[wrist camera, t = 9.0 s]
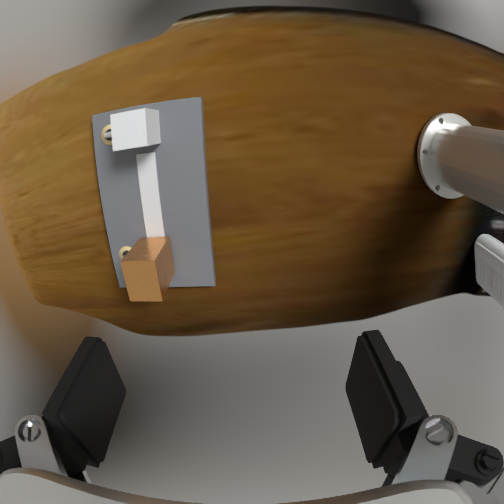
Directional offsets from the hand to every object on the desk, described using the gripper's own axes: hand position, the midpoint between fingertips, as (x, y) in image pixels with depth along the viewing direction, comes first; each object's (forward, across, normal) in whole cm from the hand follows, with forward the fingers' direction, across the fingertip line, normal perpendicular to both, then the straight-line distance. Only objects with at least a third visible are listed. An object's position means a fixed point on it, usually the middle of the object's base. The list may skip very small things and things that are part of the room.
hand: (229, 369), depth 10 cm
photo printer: (+29, -42, +11) cm, 52 cm away
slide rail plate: (+28, +11, 0) cm, 30 cm away
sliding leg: (+26, +12, +7) cm, 30 cm away
